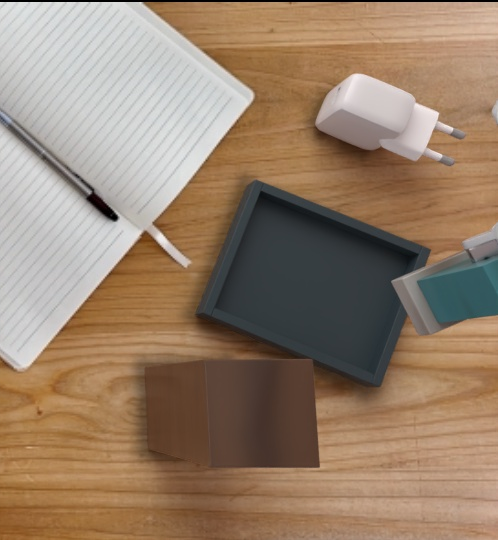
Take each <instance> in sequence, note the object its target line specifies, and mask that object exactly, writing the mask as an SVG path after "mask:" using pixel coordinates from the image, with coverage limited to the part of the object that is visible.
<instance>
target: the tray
mask: <svg viewBox="0 0 498 540" xmlns="http://www.w3.org/2000/svg"><path fill="white" fill-rule="evenodd" d="M431 252H432V249H431V248H428V247H426V246H424V245H421V244H419V243H416V242H414V241H411V240H409V239H406V238H404V237H402V236H399V235H396V234H394V233H391V232H389V231H386V230H384V229H381V228H378V227H377V226H374V225H371V224H369V223H366V222H363V221H361V220H359V219H357V218H354V217H351V216H349V215H346V214H343V213H341V212H339V211H336V210H334V209H331V208H329V207H326V206H324V205H322V204H319V203H316V202H314V201H311V200H309V199H307V198H304V197H301V196H299V195H296V194H294V193H291V192H289V191H286V190H284V189H282V188H279V187H276V186H274V185H271V184H268V183H266V182H263V181H261V180H258V179H254V180H252V181H251V182H250V183H248V184H246V186H245V189H244V192H243V194H242V196H241V199H240V201H239V204H238V206H237V209H236V211H235V213H234V215H233V218H232V220H231V223H230V226H229V228H228V231H227V233H226V236H225V239H224V241H223V243H222V246H221V249H220V252H219V254H218V256H217V259H216V262H215V263H214V266H213V269H212V271H211V274H210V276H209V279H208V281H207V284H206V286H205V289H204V291H203V294H202V296H201V298H200V301H199V304H198V306H197V308H196V311H195V313H194V315H195V316H196V317H199V318H201V319H203V320H206V321H208V322H211V323H213V324H215V325H218V326H220V327H222V328H225V329H227V330H229V331H232V332H234V333H237V334H239V335H242V336H244V337H247V338H249V339H251V340H253V341H256V342H258V343H260V344H263V345H266V346H268V347H270V348H273V349H274V350H278V351H279V352H282V353H285V354H287V355H289V356H291V357H294V358H295V359H312V360H313V366H316V367H318V368H319V369H323V370H324V371H327V372H330V373H332V374H335V375H337V376H339V377H341V378H344V379H346V380H349V381H352V383H353V382H354V383H356V384H358V385H361V386H363V387H366V388H381V387H382V384H383V382H384V379H385V376H386V374H387V371H388V368H389V366H390V363H391V360H392V358H393V355H394V352H395V349H396V347H397V344H398V341H399V338H400V336H401V333H402V330H403V327H404V325H405V322H406V319H407V317H408V314H407V312H406V310H405V308H404V306H403V304H402V302H401V300H400V298H399V296H398V294H397V292H396V290H395V288H394V286H393V284H392V283H391V281H392V280H394V279H397V278H399V277H401V276H404V275H406V274H409V273H411V272H413V271H416V270H418V269H420V268H423V267H425V266H427V263H428V260H429V257H430V256H431Z"/></svg>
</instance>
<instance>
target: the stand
mask: <svg viewBox="0 0 498 540" xmlns="http://www.w3.org/2000/svg"><path fill="white" fill-rule="evenodd" d="M144 381H145V382H144V383H145V407H146V408H145V409H146V433H147V434H146V435H147V449H148V450H150V451H154V452H157V453H160V454H163V455H168V456H171V457H174V458H176V459H177V458H178V459H180V460H185V461H188V462H191V463H194V464H198V465H201V466H205V467H208V468H212V469H234V468H236V469H274V468H275V469H319V468H320V467H321V462H320V461H321V460H320V448H319V433H318V417H317V405H316V404H317V403H316V402H317V401H316V387H315V386H316V385H315V373H314V365H313V360H312V359H299V358H220V359H219V358H215V359H213V358H211V359H210V358H209V359H199V360H191V361H189V360H188V361H182V362H174V363H165V364H158V365H151V366H150V365H148V366H145V367H144Z"/></svg>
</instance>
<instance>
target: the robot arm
mask: <svg viewBox="0 0 498 540" xmlns="http://www.w3.org/2000/svg"><path fill="white" fill-rule="evenodd" d="M491 115H492V118H493V120H494V121H495V123H496V125H497V126H498V98H497V99H496V101H495V103H494V105H493V107H492V109H491ZM461 245H462V247H463V250H465V251H466V253H467V254H468V256H469V258H470V260H471V262H472V263H476V262H479V261H482V260H484V259H485V258H487V257H488V258H491V257H493V256H496V255H498V221H497V222H496V223H495V224H494V225H493V226H492V227H491V229H489V230H487V231H483V232H481V233H478V234H475V235H473V236H470V237H468V238H466V239H464V240H463V241H461Z"/></svg>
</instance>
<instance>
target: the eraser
mask: <svg viewBox="0 0 498 540" xmlns="http://www.w3.org/2000/svg"><path fill="white" fill-rule="evenodd" d="M391 283H392V284H393V286H394V288H395V290H396V292H397V294H398V296H399V298H400V300H401V302H402V304H403V306H404V308H405V310H406V312H407V317H409V320H410V321H411V324H412V325H413V327H414V329H415V331H416V334H417V335H418V336H419V337H424V336H431V335H434V334H436V333H439V332H441V331H443V330H446V329H448V328H451V327H452V326H455V325H457V324H460V323H462V322H465V321H467V320H472V319H479V318H488V317H493V316H498V255H496V256H493V257H491V258H488V257H487V258H485V259H484V260H482V261H479V262H476V263H472V262H471V260H470V258H469V256H468V254H467V253H466V251H465V249H463V250H460V251H458V252H455V253H453V254H451V255H448V256H446V257H444V258H442V259H439V260H437V261H435V262H432V263H430V264H428V265H427V264H426V266H425V267H423V268H420V269H418V270H416V271H413V272H411V273H409V274H406V275H404V276H401V277H399V278H397V279H394V280H392V281H391Z"/></svg>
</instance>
